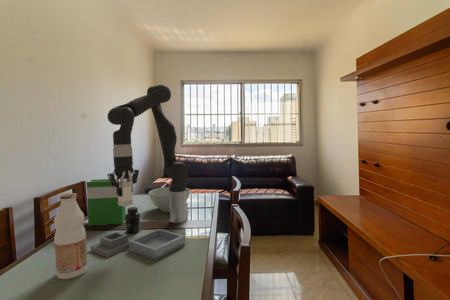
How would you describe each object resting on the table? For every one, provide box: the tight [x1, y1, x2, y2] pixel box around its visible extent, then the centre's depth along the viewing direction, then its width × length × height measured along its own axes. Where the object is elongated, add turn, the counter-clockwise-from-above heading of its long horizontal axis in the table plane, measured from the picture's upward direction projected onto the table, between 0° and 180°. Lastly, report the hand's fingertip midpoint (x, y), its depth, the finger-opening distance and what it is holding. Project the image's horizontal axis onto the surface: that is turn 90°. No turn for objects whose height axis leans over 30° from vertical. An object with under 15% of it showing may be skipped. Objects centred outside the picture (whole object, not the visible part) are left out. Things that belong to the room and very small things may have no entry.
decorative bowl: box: [148, 186, 191, 213], centre depth 166 cm, size 27×27×12 cm
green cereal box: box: [85, 178, 127, 227], centre depth 141 cm, size 18×7×24 cm, turn 98°
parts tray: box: [128, 228, 186, 261], centre depth 109 cm, size 16×16×4 cm
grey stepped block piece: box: [90, 231, 133, 258], centre depth 109 cm, size 14×12×5 cm
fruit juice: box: [53, 192, 88, 280], centre depth 89 cm, size 9×9×28 cm
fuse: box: [118, 180, 134, 208], centre depth 108 cm, size 4×4×10 cm
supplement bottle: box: [125, 206, 141, 235], centre depth 128 cm, size 7×7×12 cm
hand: (125, 194), depth 108 cm, fingers closed on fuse, 4 cm apart
